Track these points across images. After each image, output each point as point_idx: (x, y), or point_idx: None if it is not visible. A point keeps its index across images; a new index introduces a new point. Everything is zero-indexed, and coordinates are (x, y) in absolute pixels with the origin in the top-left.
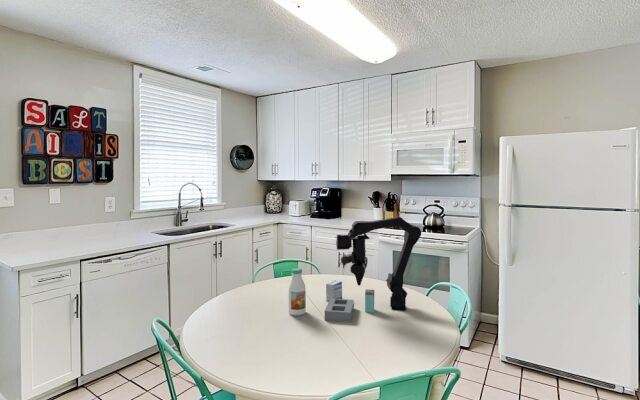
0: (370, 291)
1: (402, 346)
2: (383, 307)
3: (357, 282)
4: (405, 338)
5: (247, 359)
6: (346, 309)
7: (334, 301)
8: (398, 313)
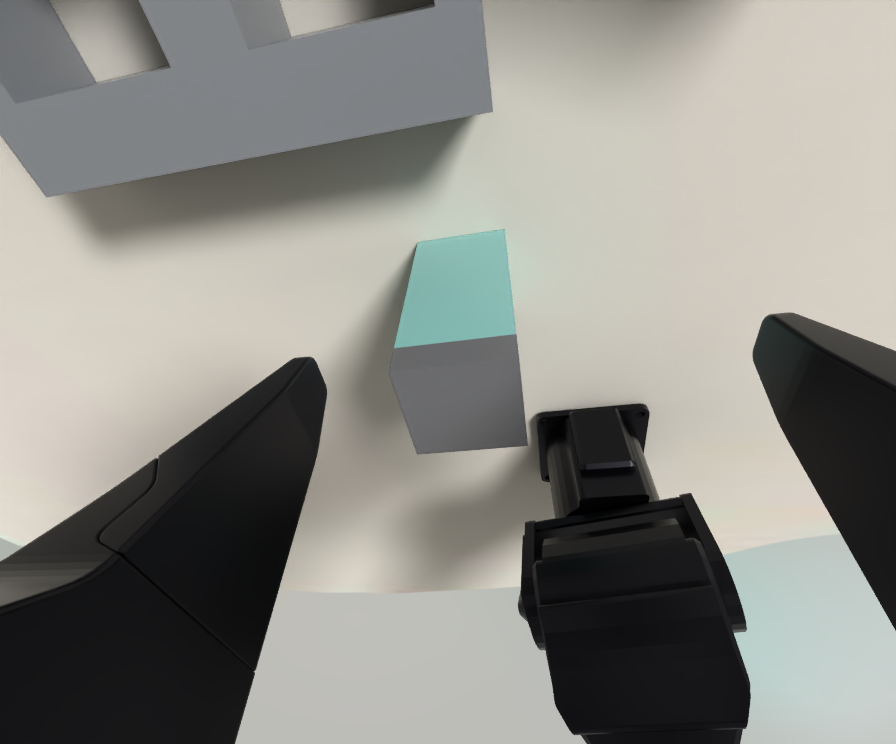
0: (444, 419)
1: (79, 481)
2: (578, 360)
3: (249, 402)
4: None
5: None
6: (86, 119)
7: None
8: None
